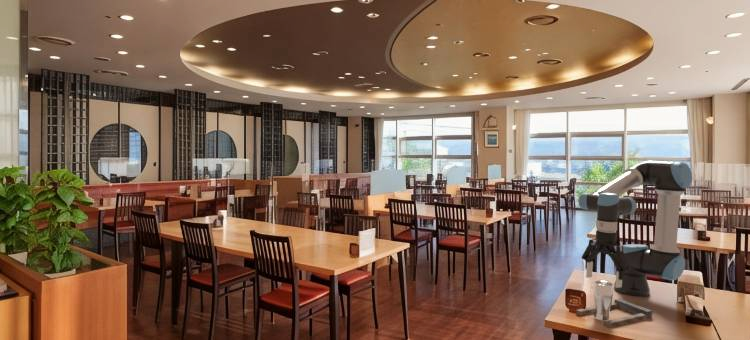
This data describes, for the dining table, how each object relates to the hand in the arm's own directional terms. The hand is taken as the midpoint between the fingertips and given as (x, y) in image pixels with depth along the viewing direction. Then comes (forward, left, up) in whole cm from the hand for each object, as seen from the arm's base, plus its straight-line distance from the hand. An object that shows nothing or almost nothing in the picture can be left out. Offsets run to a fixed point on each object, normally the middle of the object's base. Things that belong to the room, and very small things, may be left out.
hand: (603, 282), depth 179 cm
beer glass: (0, 0, -16) cm, 16 cm away
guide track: (-7, 0, -15) cm, 17 cm away
